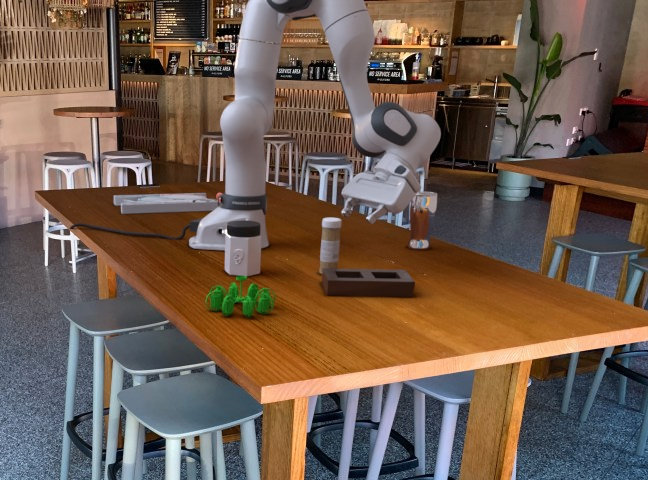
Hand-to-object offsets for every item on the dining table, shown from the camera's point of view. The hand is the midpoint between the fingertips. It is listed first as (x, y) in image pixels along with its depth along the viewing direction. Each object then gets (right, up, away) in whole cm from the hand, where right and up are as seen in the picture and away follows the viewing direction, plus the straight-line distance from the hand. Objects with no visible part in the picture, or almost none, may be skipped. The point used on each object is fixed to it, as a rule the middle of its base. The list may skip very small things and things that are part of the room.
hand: (356, 218), depth 192 cm
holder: (0, -19, -11) cm, 22 cm away
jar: (-28, -13, +3) cm, 30 cm away
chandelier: (-30, -25, -26) cm, 47 cm away
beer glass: (+24, -2, +30) cm, 38 cm away
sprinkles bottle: (-7, -13, +2) cm, 15 cm away
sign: (-49, +22, +86) cm, 102 cm away
